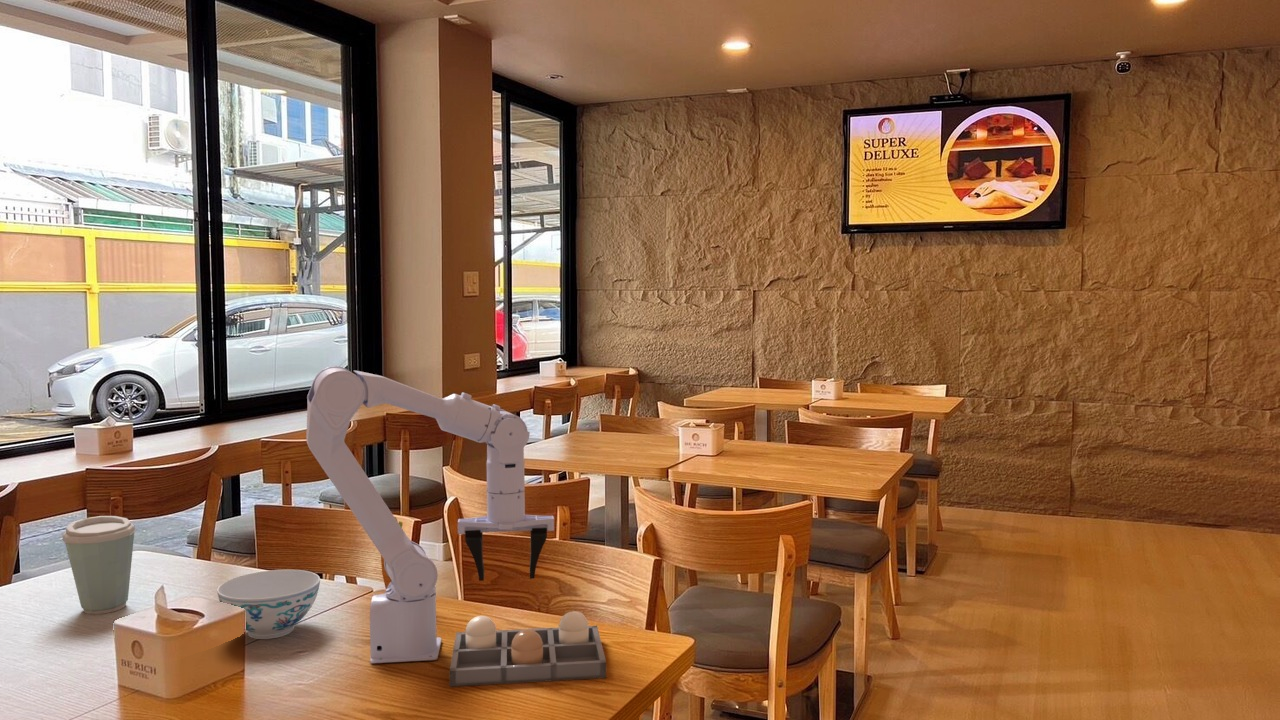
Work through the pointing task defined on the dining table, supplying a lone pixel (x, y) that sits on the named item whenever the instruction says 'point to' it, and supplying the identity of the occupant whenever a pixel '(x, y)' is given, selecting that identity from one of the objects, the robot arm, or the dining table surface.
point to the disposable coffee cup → (101, 561)
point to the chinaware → (271, 599)
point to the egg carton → (490, 662)
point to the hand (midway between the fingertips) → (506, 577)
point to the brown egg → (527, 648)
